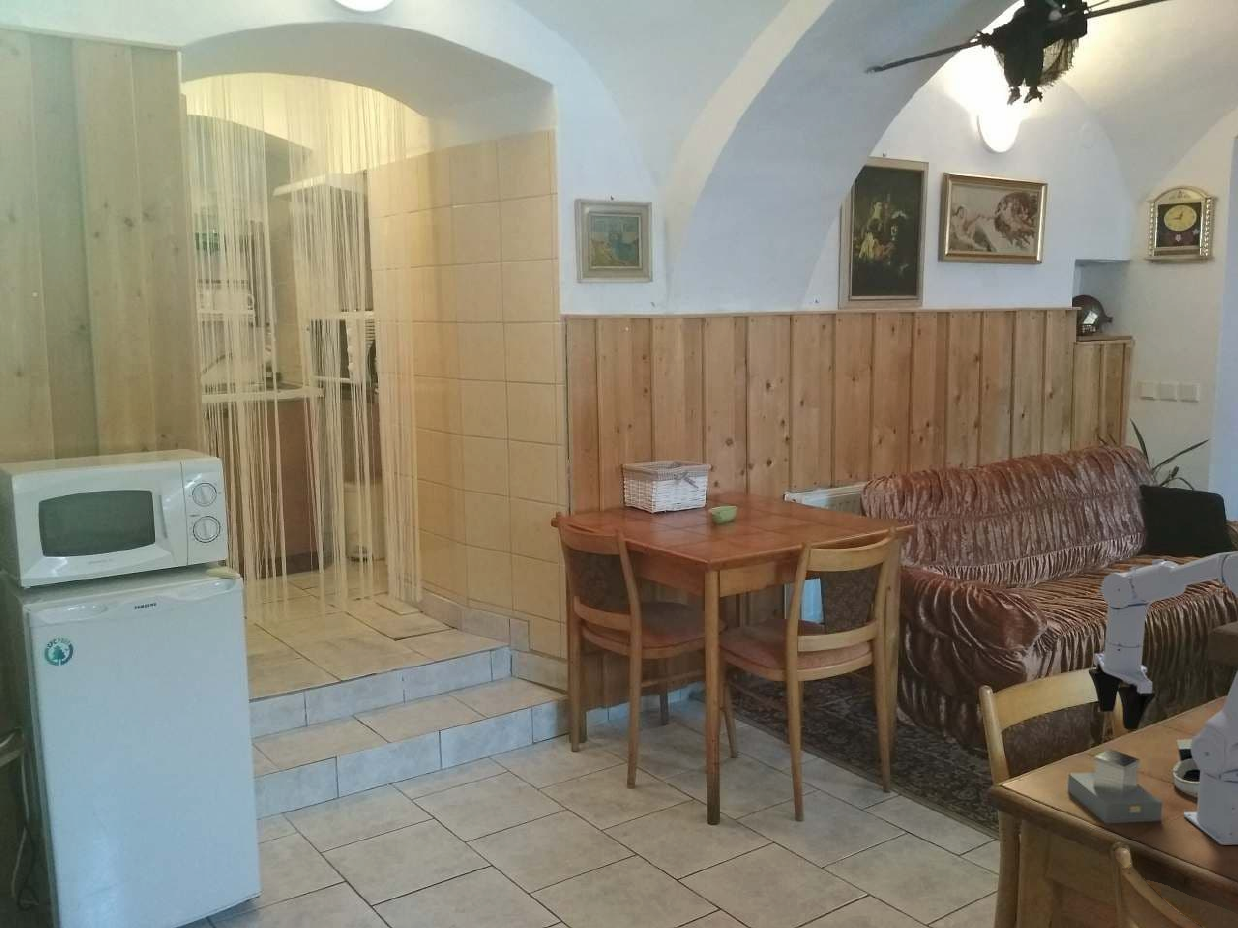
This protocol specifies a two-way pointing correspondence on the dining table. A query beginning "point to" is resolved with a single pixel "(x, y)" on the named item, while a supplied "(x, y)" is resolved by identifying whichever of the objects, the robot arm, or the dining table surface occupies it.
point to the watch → (1186, 769)
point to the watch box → (1114, 801)
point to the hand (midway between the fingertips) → (1118, 719)
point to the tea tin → (1116, 772)
